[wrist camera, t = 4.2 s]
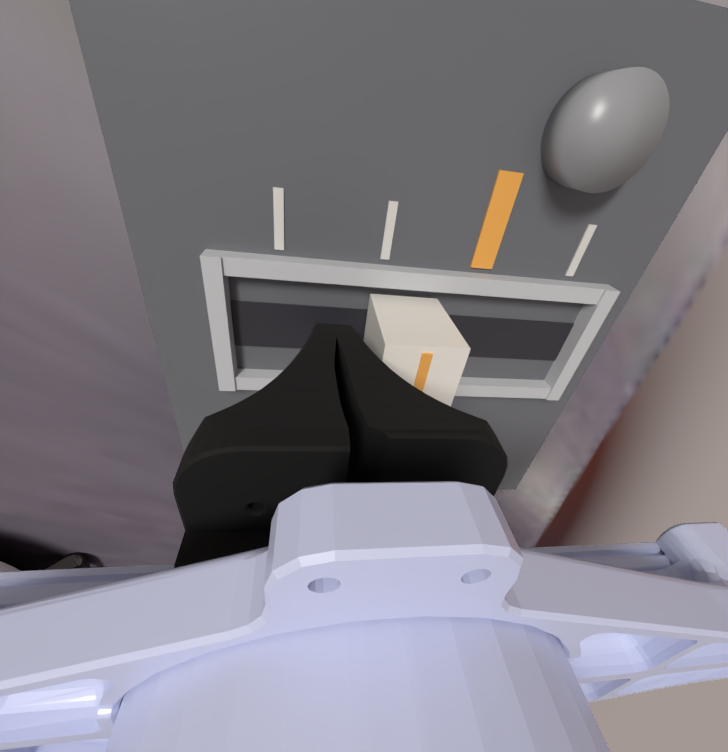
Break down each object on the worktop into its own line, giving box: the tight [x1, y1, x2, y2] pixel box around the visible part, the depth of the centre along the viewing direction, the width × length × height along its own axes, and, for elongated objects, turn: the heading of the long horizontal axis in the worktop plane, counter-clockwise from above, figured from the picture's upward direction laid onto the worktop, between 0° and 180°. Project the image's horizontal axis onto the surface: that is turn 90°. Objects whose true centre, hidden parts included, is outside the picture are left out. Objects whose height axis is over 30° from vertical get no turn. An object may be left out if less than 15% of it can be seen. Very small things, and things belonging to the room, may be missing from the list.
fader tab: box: [363, 294, 471, 406], centre depth 12 cm, size 3×2×4 cm
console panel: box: [69, 0, 728, 489], centre depth 14 cm, size 20×18×3 cm
